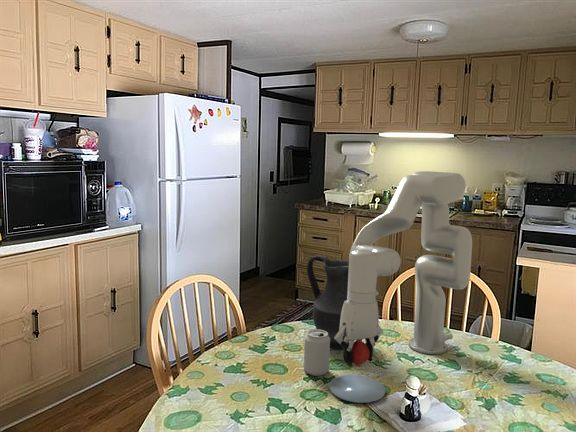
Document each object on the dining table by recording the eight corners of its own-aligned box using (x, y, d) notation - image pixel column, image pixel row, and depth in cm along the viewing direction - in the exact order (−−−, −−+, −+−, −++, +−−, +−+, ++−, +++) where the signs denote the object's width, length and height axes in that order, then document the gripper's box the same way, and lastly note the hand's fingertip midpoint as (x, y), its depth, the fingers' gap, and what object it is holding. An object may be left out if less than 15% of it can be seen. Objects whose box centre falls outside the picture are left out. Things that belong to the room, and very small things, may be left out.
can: (327, 378, 138) (328, 338, 136) (301, 375, 139) (302, 335, 138) (330, 367, 145) (331, 329, 144) (305, 364, 147) (307, 326, 145)
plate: (362, 374, 141) (363, 370, 141) (396, 397, 128) (396, 393, 128) (319, 384, 134) (319, 380, 134) (350, 410, 121) (350, 406, 121)
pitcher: (349, 359, 151) (353, 266, 147) (293, 344, 162) (295, 257, 158) (370, 342, 166) (374, 257, 162) (317, 329, 176) (320, 249, 173)
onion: (355, 372, 126) (356, 343, 125) (342, 364, 131) (344, 335, 130) (373, 368, 128) (374, 340, 128) (360, 360, 134) (361, 332, 133)
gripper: (378, 289, 135) (374, 351, 137) (326, 295, 127) (323, 361, 129) (396, 297, 128) (391, 361, 130) (342, 303, 120) (338, 372, 122)
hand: (357, 360), depth 130 cm, fingers closed on onion, 5 cm apart
